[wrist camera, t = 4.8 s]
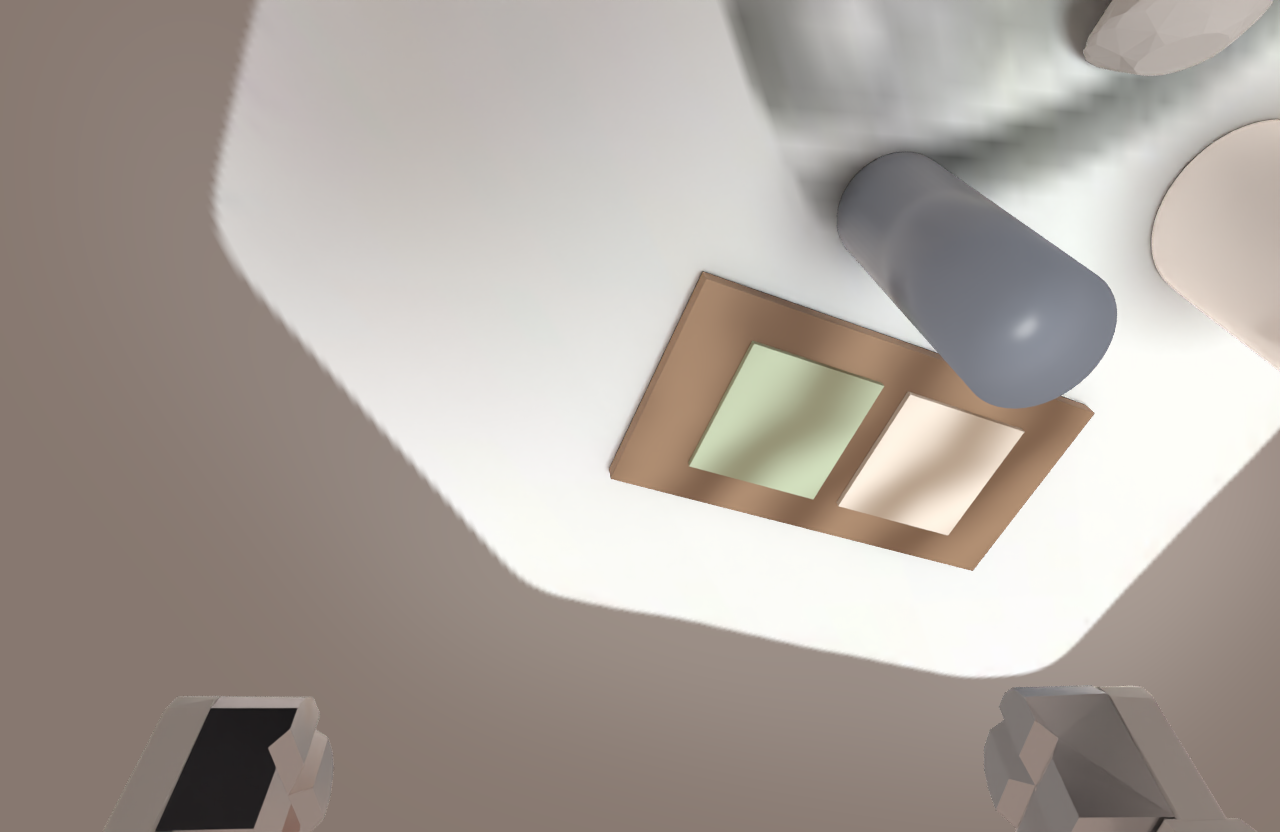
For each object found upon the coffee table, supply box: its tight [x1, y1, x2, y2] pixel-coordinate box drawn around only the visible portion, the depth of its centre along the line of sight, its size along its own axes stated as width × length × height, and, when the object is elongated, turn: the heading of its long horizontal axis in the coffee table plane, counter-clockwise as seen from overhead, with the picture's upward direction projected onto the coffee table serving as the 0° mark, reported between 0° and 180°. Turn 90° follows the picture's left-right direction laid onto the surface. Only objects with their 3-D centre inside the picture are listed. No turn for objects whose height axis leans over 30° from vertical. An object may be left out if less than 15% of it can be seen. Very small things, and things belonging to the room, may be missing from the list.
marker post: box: [837, 152, 1117, 409], centre depth 32 cm, size 5×5×12 cm
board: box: [609, 272, 1095, 571], centre depth 43 cm, size 22×11×1 cm, turn 67°
